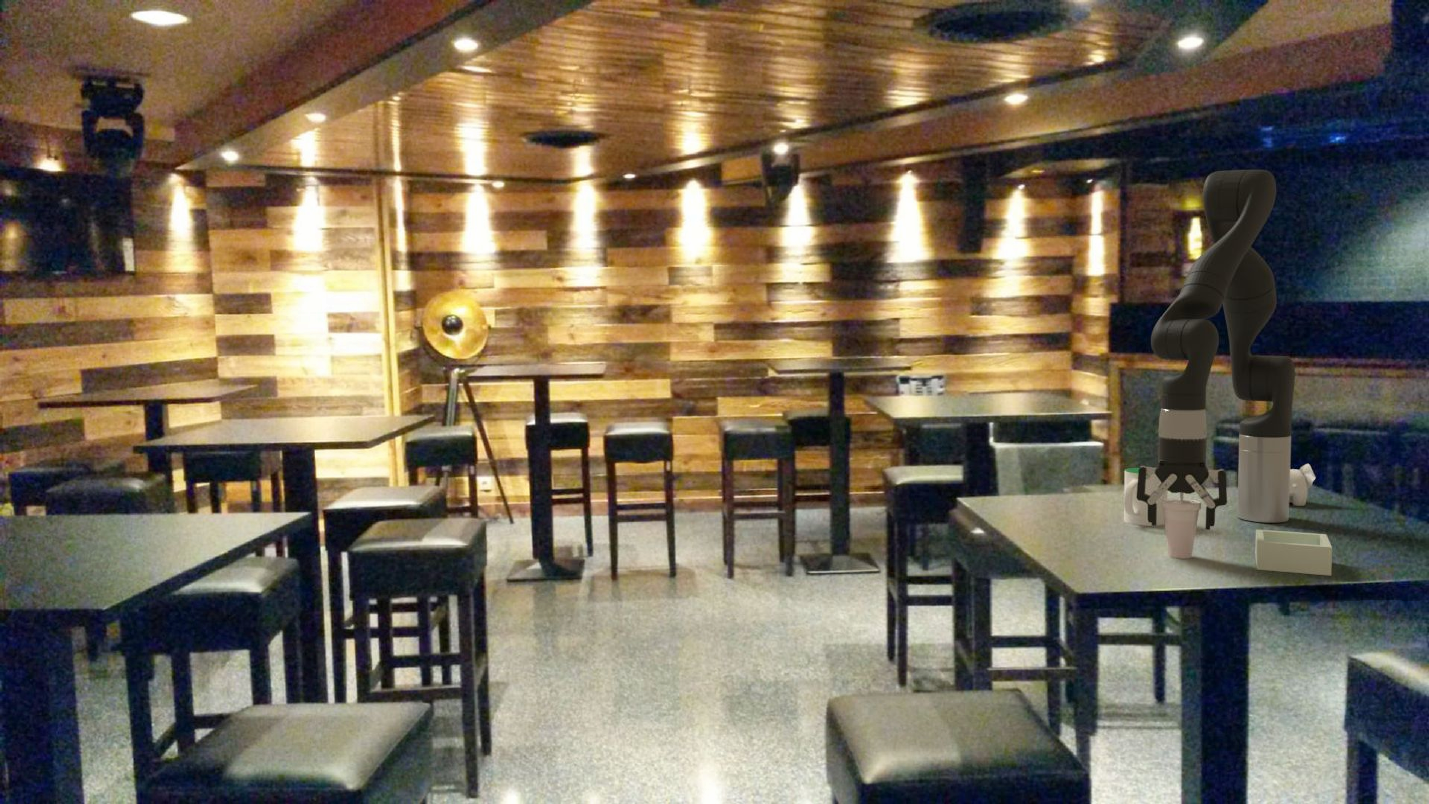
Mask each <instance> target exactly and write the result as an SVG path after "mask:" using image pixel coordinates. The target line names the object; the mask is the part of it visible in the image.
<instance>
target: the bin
mask: <svg viewBox="0 0 1429 804" xmlns="http://www.w3.org/2000/svg"><path fill="white" fill-rule="evenodd" d="M1254 546H1255V553H1254V557H1255V563H1256V564H1255V565H1256V570H1262V571H1270V572H1271V571H1272V572H1281V573H1283V572H1284V573H1295V574H1307V575H1308V574H1309V575H1316V576H1317V575H1318V576H1319V575H1320V576H1330V577H1331V576H1332V562H1333V561H1332V560H1333V546H1332V545H1331V542H1330V540H1329V538H1328V535H1327V534H1326V533H1325V534H1324V533H1314V532H1313V533H1312V532H1297V531H1284V530H1270V529H1269V530H1268V529H1255V545H1254Z"/></svg>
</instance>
